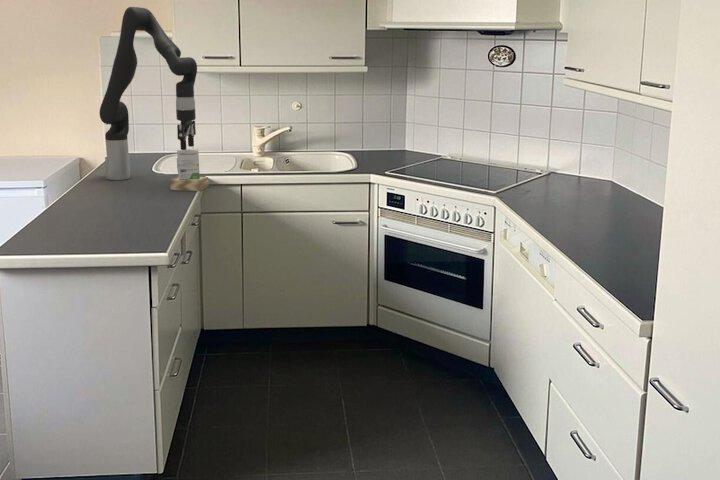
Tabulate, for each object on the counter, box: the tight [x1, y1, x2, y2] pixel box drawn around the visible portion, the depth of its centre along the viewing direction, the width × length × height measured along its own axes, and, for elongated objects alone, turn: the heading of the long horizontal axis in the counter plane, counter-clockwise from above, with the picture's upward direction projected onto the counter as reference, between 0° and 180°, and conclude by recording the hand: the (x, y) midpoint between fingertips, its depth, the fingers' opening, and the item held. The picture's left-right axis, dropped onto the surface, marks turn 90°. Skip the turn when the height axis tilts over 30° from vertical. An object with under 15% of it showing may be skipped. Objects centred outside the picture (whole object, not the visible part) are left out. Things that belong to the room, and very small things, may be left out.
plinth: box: [169, 176, 210, 192], centre depth 352 cm, size 13×9×4 cm
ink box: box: [176, 148, 201, 180], centre depth 350 cm, size 8×5×12 cm, turn 104°
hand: (187, 148), depth 348 cm, fingers open, 8 cm apart
